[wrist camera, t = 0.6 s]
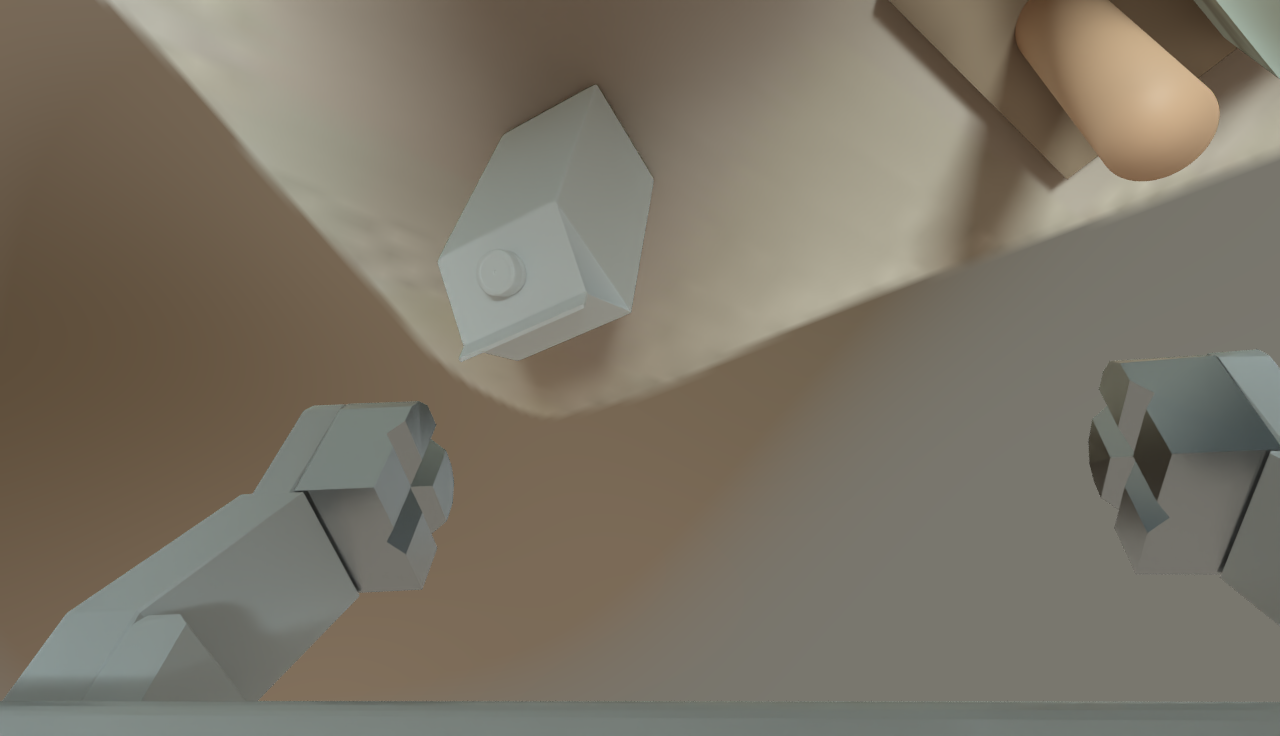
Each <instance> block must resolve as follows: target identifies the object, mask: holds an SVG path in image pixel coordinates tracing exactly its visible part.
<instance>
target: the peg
mask: <svg viewBox="0 0 1280 736" xmlns="http://www.w3.org/2000/svg"><path fill="white" fill-rule="evenodd" d="M1015 37H1016V42H1017V46H1018V48H1019V50H1020V51H1021V53H1022V54H1023V55H1024V57H1025V58H1026V59H1027V61H1028V62H1029V64H1030V65H1031V66H1032V68H1033V69H1034V70H1035V72H1036V73H1037V74H1038V76H1039V77H1040V78H1041V80H1042V81H1043V82H1044V84H1045V85H1046V86H1047V88H1048V89H1049V90H1050V92H1051V93H1052V94H1053V96H1054V97H1055V98H1056V100H1057V101H1058V102H1059V104H1060V105H1061V106H1062V108H1063V109H1064V110H1065V112H1066V113H1067V114H1068V116H1069V117H1070V118H1071V120H1072V121H1073V122H1074V124H1075V125H1076V126H1077V128H1078V129H1079V130H1080V132H1081V133H1082V134H1083V136H1084V137H1085V139H1086V140H1087V141H1088V143H1089V144H1090V145H1091V147H1092V148H1093V149H1094V151H1095V152H1096V153H1097V155H1098V156H1099V157H1100V159H1101V160H1102V161H1103V163H1104V164H1105V165H1106V167H1107V168H1108V169H1109V170H1110V171H1111V172H1113V173H1114V174H1115V175H1117V176H1119V177H1121V178H1124V179H1127V180H1132V181H1151V180H1157V179H1161V178H1164V177H1167V176H1170V175H1172V174H1174V173H1176V172H1178V171H1180V170H1182V169H1183V168H1185V167H1186V166H1188V165H1189V164H1191V163H1192V162H1193V161H1194V160H1195V159H1197V158H1198V157H1199V156H1200V155H1201V154H1202V153H1203V152H1204V150H1205V149H1206V148H1207V147H1208V145H1209V144H1210V142H1211V140H1212V139H1213V137H1214V135H1215V133H1216V130H1217V127H1218V123H1219V115H1220V111H1219V104H1218V101H1217V99H1216V97H1215V95H1214V93H1213V92H1212V91H1211V90H1210V89H1209V88H1208V87H1207V86H1206V85H1205V84H1204V83H1202V82H1201V81H1200V80H1199V79H1198V78H1197V77H1196V76H1194V75H1193V74H1192V73H1191V72H1190V71H1189V70H1188V69H1186V68H1185V67H1184V66H1183V65H1182V64H1181V63H1180V62H1178V61H1177V60H1176V59H1175V58H1174V57H1173V56H1172V55H1170V54H1169V53H1168V52H1167V51H1166V50H1165V49H1164V48H1163V47H1161V46H1160V45H1159V44H1158V43H1157V42H1156V41H1155V40H1153V39H1152V38H1151V37H1150V36H1149V35H1148V34H1147V33H1145V32H1144V31H1143V30H1142V29H1141V28H1140V27H1139V26H1137V25H1136V24H1135V23H1134V22H1133V21H1132V20H1131V19H1130V18H1128V17H1127V16H1126V15H1125V14H1124V13H1123V12H1122V11H1120V10H1119V9H1118V8H1117V7H1116V6H1115V5H1114V4H1112V3H1111V2H1110V1H1109V0H1028V2H1027V3H1026V4H1025V6H1024V7H1023V9H1022V10H1021V12H1020V14H1019V17H1018V20H1017V23H1016V28H1015Z"/></svg>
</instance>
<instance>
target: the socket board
mask: <svg viewBox="0 0 1280 736" xmlns="http://www.w3.org/2000/svg"><path fill="white" fill-rule="evenodd" d="M889 1H890V2H891V3H892V4H893V5H894V6H895V7H896V8H897V9H898V10H899V11H900V12H901V13H902V14H903V15H904V16H905V17H906V18H907V19H908V20H909V21H910V22H911V23H912V24H913V25H914V26H915V27H916V28H917V29H918V30H919V31H920V33H921V34H922V35H923V36H924V37H925V38H926V39H927V40H928V41H929V42H930V43H931V44H932V45H933V46H934V47H935V48H936V49H937V50H938V51H939V52H940V53H941V54H942V55H943V56H944V57H945V58H946V59H947V60H948V61H949V62H950V63H951V64H952V65H953V66H954V67H955V68H956V69H957V70H958V71H959V72H960V73H961V74H962V75H963V76H964V77H965V78H966V79H967V80H968V81H969V82H970V83H971V84H972V85H973V86H974V87H975V88H976V89H977V90H978V91H979V92H980V93H981V94H982V95H983V96H984V97H985V98H986V99H987V100H988V101H989V102H990V103H991V104H992V105H993V106H994V107H995V108H996V109H997V110H998V111H999V112H1000V113H1001V114H1002V115H1003V116H1004V117H1005V118H1006V119H1007V120H1008V121H1009V122H1010V123H1011V124H1012V125H1013V126H1014V127H1015V128H1016V129H1017V130H1018V131H1019V132H1020V133H1021V134H1022V135H1023V136H1024V137H1025V138H1026V139H1027V140H1028V141H1029V142H1030V143H1031V144H1032V145H1033V146H1034V147H1035V148H1036V149H1037V150H1038V151H1039V152H1040V153H1041V154H1042V155H1043V156H1044V157H1045V158H1046V159H1047V160H1048V161H1049V162H1050V163H1051V164H1052V165H1053V166H1054V167H1055V168H1056V169H1057V170H1058V171H1059V172H1060V173H1061V174H1062V175H1063V176H1064V177H1065V178H1066V179H1068V178H1070V177H1071V176H1072V175H1074V174H1075V173H1076V172H1077V171H1079V170H1080V169H1081V168H1083V167H1084V166H1085V165H1087V164H1088V163H1089V162H1090V161H1092V160H1093V159H1094V158H1096V157H1097V156H1098V155H1097V153H1096V152H1095V151H1094V149H1093V148H1092V147H1091V145H1090V144H1089V143H1088V141H1087V140H1086V139H1085V137H1084V136H1083V134H1082V133H1081V132H1080V130H1079V129H1078V128H1077V126H1076V125H1075V124H1074V122H1073V121H1072V120H1071V118H1070V117H1069V116H1068V114H1067V113H1066V112H1065V110H1064V109H1063V108H1062V106H1061V105H1060V104H1059V102H1058V101H1057V100H1056V98H1055V97H1054V96H1053V94H1052V93H1051V92H1050V90H1049V89H1048V88H1047V86H1046V85H1045V84H1044V82H1043V81H1042V80H1041V78H1040V77H1039V76H1038V74H1037V73H1036V72H1035V70H1034V69H1033V68H1032V66H1031V65H1030V64H1029V62H1028V61H1027V59H1026V58H1025V57H1024V55H1023V54H1022V53H1021V51H1020V50H1019V48H1018V46H1017V42H1016V37H1015V28H1016V23H1017V20H1018V17H1019V14H1020V12H1021V10H1022V9H1023V7H1024V6H1025V4H1026V3H1027V2H1028V0H889ZM1109 1H1110V2H1111V3H1112V4H1114V5H1115V6H1116V7H1117V8H1118V9H1119V10H1120V11H1122V12H1123V13H1124V14H1125V15H1126V16H1127V17H1128V18H1130V19H1131V20H1132V21H1133V22H1134V23H1135V24H1136V25H1137V26H1139V27H1140V28H1141V29H1142V30H1143V31H1144V32H1145V33H1147V34H1148V35H1149V36H1150V37H1151V38H1152V39H1153V40H1155V41H1156V42H1157V43H1158V44H1159V45H1160V46H1161V47H1163V48H1164V49H1165V50H1166V51H1167V52H1168V53H1169V54H1170V55H1172V56H1173V57H1174V58H1175V59H1176V60H1177V61H1178V62H1180V63H1181V64H1182V65H1183V66H1184V67H1185V68H1186V69H1188V70H1189V71H1190V72H1191V73H1192V74H1193V75H1194V76H1196V77H1197V78H1199V77H1200V76H1202V75H1203V74H1204V73H1206V72H1207V71H1208V70H1210V69H1211V68H1212V67H1213V66H1215V65H1216V64H1217V63H1219V62H1220V61H1221V60H1222V59H1224V58H1225V57H1226V56H1228V55H1229V54H1230V53H1232V52H1233V51H1234V50H1235V49H1237V48H1239V49H1240V50H1241V51H1243V52H1244V53H1245V54H1247V55H1248V56H1249V57H1251V58H1252V59H1253V60H1255V61H1256V62H1257V63H1259V64H1260V65H1262V66H1263V67H1264V68H1266V69H1267V70H1268V71H1270V72H1271V73H1272V74H1274V75H1275V76H1276V77H1278V78H1279V79H1280V0H1109Z"/></svg>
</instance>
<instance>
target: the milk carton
mask: <svg viewBox="0 0 1280 736" xmlns="http://www.w3.org/2000/svg"><path fill="white" fill-rule="evenodd" d="M653 183H654V179H653V177H652V176H651V174H650V172H649V171H648V169H647V167H646V166H645V164H644V162H643V161H642V159H641V157H640V156H639V154H638V152H637V151H636V149H635V147H634V146H633V144H632V142H631V141H630V139H629V137H628V136H627V134H626V132H625V131H624V129H623V127H622V126H621V124H620V122H619V121H618V119H617V117H616V116H615V114H614V112H613V111H612V109H611V107H610V106H609V104H608V102H607V101H606V99H605V97H604V96H603V94H602V92H601V91H600V89H599V87H598V86H597V85H593V86H591V87H589V88H587V89H585V90H583V91H582V92H580V93H578V94H576V95H574V96H572V97H571V98H569V99H567V100H565V101H563V102H562V103H560V104H558V105H556V106H554V107H552V108H551V109H549V110H547V111H545V112H543V113H542V114H540V115H538V116H536V117H534V118H533V119H531V120H529V121H527V122H525V123H523V124H522V125H520V126H518V127H516V128H514V129H513V130H511V131H509V132H507V133H506V134H504V135H503V136H502V137H501V139H500V141H499V143H498V145H497V147H496V149H495V151H494V153H493V155H492V157H491V159H490V160H489V162H488V164H487V166H486V168H485V170H484V172H483V174H482V176H481V178H480V180H479V182H478V183H477V185H476V187H475V189H474V191H473V193H472V195H471V197H470V199H469V201H468V203H467V205H466V207H465V208H464V210H463V212H462V214H461V216H460V218H459V220H458V222H457V224H456V226H455V228H454V230H453V232H452V233H451V235H450V237H449V239H448V241H447V243H446V245H445V247H444V249H443V251H442V253H441V255H440V257H439V260H438V265H439V269H440V272H441V275H442V278H443V282H444V285H445V288H446V291H447V294H448V298H449V301H450V304H451V307H452V310H453V314H454V317H455V320H456V323H457V326H458V330H459V333H460V336H461V339H462V342H463V346H464V347H463V350H462V352H461V354H460V357H459V360H460V361H461V362H462V361H465V360H467V359H469V358H472V357H474V356H476V355H478V354H481V353H487V354H491V355H495V356H499V357H503V358H508V359H512V360H516V361H519V360H521V359H524V358H526V357H529V356H531V355H534V354H536V353H538V352H541V351H543V350H545V349H548V348H550V347H552V346H555V345H557V344H559V343H562V342H564V341H566V340H569V339H571V338H574V337H576V336H578V335H581V334H583V333H585V332H588V331H590V330H592V329H595V328H597V327H599V326H602V325H604V324H606V323H609V322H611V321H613V320H616V319H618V318H620V317H623V316H625V315H627V314H629V313H631V311H632V305H633V299H634V293H635V287H636V282H637V276H638V270H639V264H640V258H641V253H642V247H643V241H644V235H645V230H646V224H647V218H648V212H649V206H650V201H651V195H652V189H653Z"/></svg>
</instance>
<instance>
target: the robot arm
mask: <svg viewBox="0 0 1280 736" xmlns="http://www.w3.org/2000/svg"><path fill="white" fill-rule="evenodd" d="M1099 390H1100V392H1101V394H1102V396H1103V398H1104V400H1105V402H1106V404H1107V407H1105V408H1104V409H1103V410H1102V411H1101V412H1100V413H1099V414H1098V415H1096V416H1095V417H1094V418H1093V419H1092V424H1091V430H1090V436H1089V441H1088V443H1089V464H1090V468H1091V472H1092V476H1093V480H1094V483H1095V485H1096V487H1097V490H1098V492H1099V495H1100V497H1101V498H1102V499H1103V500H1105V501H1106V502H1108V503H1109V504H1111V505H1112V506H1114V507H1115V508H1117V509H1118V510H1119V512H1118V515H1117V519H1116V523H1115V530H1116V533H1117V535H1118V537H1119V539H1120V541H1121V543H1122V546H1123V548H1124V550H1125V552H1126V554H1127V556H1128V558H1129V561H1130V563H1131V565H1132V567H1133V570H1134V572H1135V574H1221V577H1220V578H1221V579H1222V580H1223V581H1224V582H1226V583H1227V584H1228V585H1229V586H1231V587H1232V588H1233V589H1234V590H1236V591H1237V592H1238V593H1239V594H1240V595H1242V596H1243V597H1244V598H1246V599H1247V600H1248V601H1249V602H1250V603H1252V604H1253V605H1254V606H1255V607H1257V608H1258V609H1259V610H1260V611H1262V612H1263V613H1264V614H1265V615H1266V616H1268V617H1269V618H1270V619H1272V620H1273V621H1274V622H1275V623H1277V624H1278V625H1279V626H1280V368H1279V367H1278V366H1277V364H1276V363H1275V362H1274V361H1273V359H1272V358H1271V357H1270V356H1269V355H1268V354H1266V353H1264V352H1262V351H1260V350H1246V351H1234V352H1221V353H1209V354H1207V355H1197V356H1183V357H1166V358H1151V359H1135V360H1121V361H1109V363H1108V364H1107V366H1106V368H1105V369H1104V371H1103V374H1102V378H1101V383H1100V387H1099ZM435 426H436V424H435V422H434V419H433V417H432V415H431V412H430V410H429V408H428V406H427V405H425V404H423V403H421V402H419V401H415V402H389V403H388V402H387V403H359V404H348V405H321V406H312V407H310V408H308V409H306V410H305V411H303V413H302V415H301V416H300V418H299V419H298V421H297V422H296V424H295V426H294V427H293V429H292V431H291V432H290V434H289V435H288V437H287V439H286V440H285V442H284V444H283V445H282V447H281V449H280V450H279V452H278V453H277V455H276V457H275V458H274V460H273V462H272V463H271V465H270V466H269V468H268V470H267V471H266V473H265V475H264V476H263V478H262V480H261V481H260V483H259V484H258V486H257V488H256V489H255V491H254V492H253V494H246V495H240V496H239V497H237V498H236V499H234V500H233V501H231V502H230V503H228V504H227V505H226V506H224V507H222V508H221V509H220V510H218V511H217V512H215V513H214V514H212V515H211V516H209V517H208V518H206V519H205V520H203V521H202V522H200V523H199V524H197V525H196V526H195V527H193V528H192V529H190V530H189V531H187V532H186V533H184V534H183V535H181V536H180V537H178V538H177V539H176V540H174V541H173V542H171V543H169V544H168V545H166V546H165V547H164V548H162V549H161V550H159V551H158V552H156V553H155V554H153V555H152V556H150V557H149V558H147V559H146V560H144V561H143V562H141V563H140V564H139V565H137V566H136V567H134V568H133V569H131V570H130V571H128V572H127V573H125V574H124V575H122V576H121V577H119V578H118V579H116V580H115V581H114V582H112V583H111V584H109V585H108V586H106V587H105V588H103V589H102V590H100V591H99V592H97V593H96V594H95V595H93V596H91V597H90V598H88V599H87V600H85V601H84V602H83V603H81V604H80V605H78V606H77V607H75V608H74V609H72V610H71V611H69V612H68V613H67V614H66V615H65V616H64V618H63V619H62V620H61V622H60V623H59V625H58V626H57V627H56V629H55V630H54V631H53V633H52V634H51V636H50V637H49V638H48V639H47V641H46V642H45V644H44V645H43V646H42V648H41V649H40V650H39V652H38V653H37V654H36V656H35V657H34V659H33V660H32V661H31V663H30V664H29V665H28V667H27V668H26V670H25V671H24V672H23V673H22V675H21V676H20V678H19V679H18V680H17V682H16V683H15V684H14V686H13V687H12V688H11V690H10V691H9V693H8V694H7V695H6V697H5V698H4V700H3V701H0V736H1280V702H747V701H745V702H743V701H741V702H740V701H737V702H736V701H730V702H727V701H725V702H724V701H716V702H715V701H713V702H711V701H706V702H705V701H700V702H699V701H697V702H696V701H695V702H694V701H691V702H690V701H686V702H685V701H679V702H678V701H653V702H651V701H645V702H644V701H637V702H636V701H258V700H259V699H260V698H261V697H262V696H263V695H264V694H265V693H266V692H267V691H268V690H269V689H270V688H271V687H272V685H274V683H275V682H276V681H277V680H278V679H279V678H280V677H281V676H282V675H283V674H284V673H285V672H286V671H287V670H288V669H289V668H290V667H291V666H292V665H293V664H294V663H295V662H296V661H297V660H298V659H299V658H300V657H301V656H302V655H303V654H304V653H305V651H307V649H308V648H309V647H310V646H311V645H312V644H313V643H314V642H315V641H316V640H317V639H318V638H319V637H320V636H321V635H322V634H323V633H324V632H325V631H326V630H327V629H328V628H329V627H330V626H331V625H332V624H333V623H334V622H335V621H336V620H337V618H339V617H340V616H341V614H342V613H343V612H344V611H345V610H346V609H347V608H348V607H349V606H350V605H351V604H352V603H353V602H354V601H355V600H356V599H357V598H358V597H359V594H358V593H359V592H360V593H361V592H380V591H400V590H419V589H423V586H424V583H425V580H426V578H427V575H428V572H429V569H430V566H431V564H432V561H433V558H434V555H435V552H436V550H437V546H436V544H435V541H434V539H433V537H432V533H433V532H434V531H436V529H438V528H439V527H440V526H441V525H443V524H444V523H445V522H446V521H447V519H448V515H449V512H450V509H451V506H452V503H453V488H454V478H453V472H452V466H451V463H450V460H449V457H448V455H447V452H446V450H445V449H443V448H442V447H440V446H439V445H438V444H437V443H435V442H434V441H432V440H431V436H432V434H433V431H434V429H435Z"/></svg>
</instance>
